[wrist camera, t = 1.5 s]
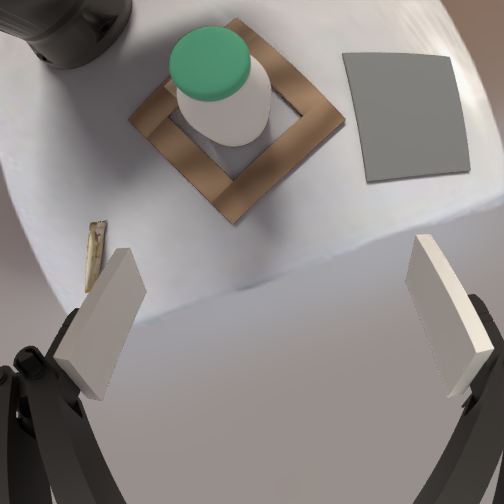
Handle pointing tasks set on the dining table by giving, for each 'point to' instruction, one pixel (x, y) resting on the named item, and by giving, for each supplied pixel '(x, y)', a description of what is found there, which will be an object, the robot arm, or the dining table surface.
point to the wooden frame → (270, 161)
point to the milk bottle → (220, 86)
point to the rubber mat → (407, 114)
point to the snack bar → (94, 253)
